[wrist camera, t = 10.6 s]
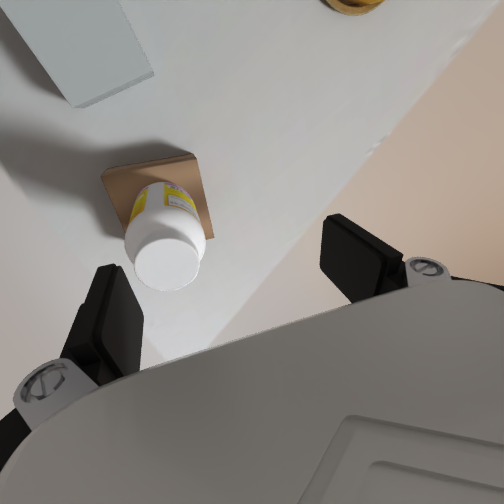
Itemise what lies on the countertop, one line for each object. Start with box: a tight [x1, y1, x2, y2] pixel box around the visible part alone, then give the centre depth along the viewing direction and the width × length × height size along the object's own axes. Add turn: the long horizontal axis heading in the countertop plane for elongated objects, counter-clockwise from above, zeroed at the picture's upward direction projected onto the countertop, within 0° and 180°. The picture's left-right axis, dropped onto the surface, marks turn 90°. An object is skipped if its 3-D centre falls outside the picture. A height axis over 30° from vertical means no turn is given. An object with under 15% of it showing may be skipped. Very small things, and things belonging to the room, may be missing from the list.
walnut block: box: [101, 154, 214, 240], centre depth 31 cm, size 10×10×4 cm
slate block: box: [0, 0, 154, 108], centre depth 22 cm, size 8×8×4 cm
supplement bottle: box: [125, 182, 206, 291], centre depth 24 cm, size 7×7×13 cm
